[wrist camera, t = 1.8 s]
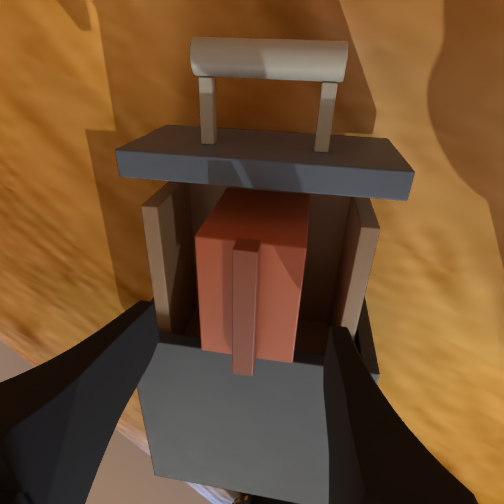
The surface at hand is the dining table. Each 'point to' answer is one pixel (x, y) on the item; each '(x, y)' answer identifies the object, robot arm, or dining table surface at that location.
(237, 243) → the ridged terracotta block
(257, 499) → the carrying case
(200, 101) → the drawer
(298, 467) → the cabinet
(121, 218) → the dining table surface
